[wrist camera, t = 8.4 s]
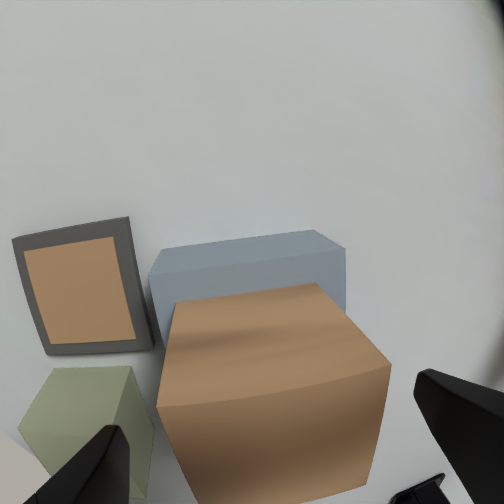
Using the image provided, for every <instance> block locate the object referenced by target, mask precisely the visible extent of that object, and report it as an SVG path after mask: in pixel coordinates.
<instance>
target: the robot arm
mask: <svg viewBox="0 0 504 504" xmlns="http://www.w3.org/2000/svg"><path fill="white" fill-rule="evenodd" d="M413 394H414V398H415V401H416V403H417V405H418V407H419V409H420V411H421V413H422V415H423V417H424V419H425V421H426V423H427V425H428V427H429V429H430V431H431V433H432V435H433V436H434V438H435V440H436V441H437V443H438V444H439V446H440V448H441V449H442V451H443V452H444V454H445V456H446V457H447V459H448V461H449V462H450V464H451V466H452V467H453V469H454V470H455V472H456V474H457V475H458V477H459V479H460V480H461V482H462V484H463V485H464V487H465V489H466V491H467V492H468V494H469V496H470V497H471V499H472V501H473V503H474V504H504V393H503V392H500V391H496V390H493V389H490V388H487V387H484V386H481V385H478V384H475V383H472V382H469V381H466V380H463V379H460V378H457V377H454V376H451V375H448V374H445V373H442V372H439V371H436V370H433V369H426V370H423V371H420V372H419V373H418V375H417V378H416V383H415V387H414V393H413ZM444 478H445V474H444V473H442V474H440V475H438V476H436V477H434V478H432V479H430V480H428V481H426V482H424V483H422V484H419V485H417V486H415V487H413V488H411V489H408V490H406V491H404V492H401V493H399V494H397V495H396V496H395V498H394V500H393V502H392V504H450V502H449V500H448V499H447V497H446V496H445V494H444V493H443V492H442V490H441V489H440V487H439V486H440V484H441V483H442V481H443V479H444ZM129 493H130V446H129V443H128V441H127V439H126V437H125V435H124V433H123V431H122V428H121V427H120V426H119V425H117V424H107V425H105V426H104V427H103V428H102V429H101V430H100V431H99V432H98V433H96V434H95V435H94V436H93V437H92V438H91V439H90V440H89V441H88V442H87V443H86V444H85V445H84V446H83V447H82V448H81V449H80V450H79V451H78V452H77V453H76V454H75V455H74V456H73V457H72V458H71V459H70V460H69V461H68V462H67V463H66V464H65V465H64V466H62V467H61V468H60V469H59V470H58V471H57V472H56V473H55V474H54V475H53V476H52V477H51V478H50V479H49V480H48V481H47V482H46V483H45V484H44V485H43V486H42V487H41V488H39V489H38V490H37V492H36V493H34V494H33V495H32V496H31V497H30V498H29V499H28V500H27V501H25V502H24V503H23V504H128V503H129Z"/></svg>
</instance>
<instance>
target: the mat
mask: <svg viewBox="0 0 504 504" xmlns="http://www.w3.org/2000/svg"><path fill="white" fill-rule="evenodd" d="M12 244H13V248H14V253H15V257H16V261H17V265H18V269H19V273H20V277H21V281H22V284H23V288H24V292H25V295H26V298H27V302H28V305H29V308H30V311H31V314H32V317H33V320H34V323H35V326H36V329H37V331H38V334H39V337H40V340H41V342H42V345H43V347H44V350H45V352H46V355H53V354H86V353H107V352H123V351H136V350H149V349H154V346H155V340H154V336H153V332H152V329H151V325H150V320H149V316H148V312H147V308H146V304H145V299H144V295H143V290H142V286H141V281H140V276H139V271H138V266H137V261H136V256H135V250H134V245H133V239H132V234H131V228H130V221H129V216H128V217H122V218H116V219H110V220H104V221H98V222H92V223H86V224H81V225H75V226H70V227H64V228H59V229H54V230H49V231H44V232H39V233H34V234H29V235H24V236H19V237H16V238H14V239H12Z"/></svg>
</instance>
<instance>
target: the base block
mask: <svg viewBox="0 0 504 504" xmlns="http://www.w3.org/2000/svg"><path fill="white" fill-rule="evenodd" d="M148 279H149V284H150V288H151V293H152V298H153V302H154V307H155V311H156V315H157V320H158V324H159V328H160V332H161V336H162V340H163V344H164V348H165V351H166V349H167V344H168V339H169V334H170V329H171V325H172V320H173V315H174V310H175V306H176V302H182V301H190V300H198V299H206V298H213V297H220V296H228V295H235V294H242V293H249V292H255V291H262V290H269V289H275V288H282V287H288V286H295V285H301V284H307V283H313V282H316V283H317V284H318V285H319V286H320V287H321V288H322V289H323V290H324V291H325V292H326V294H327V295H328V296H329V297H330V298H331V299H332V300H333V301H334V302H335V303H336V304H337V305H338V306H339V307H340V309H341V310H342V311H343V312H344V313H345V311H346V259H345V248H343V247H342V246H340V245H338V244H337V243H335V242H333V241H332V240H330V239H328V238H327V237H325V236H323V235H322V234H320V233H318V232H316V231H315V230H306V231H298V232H290V233H282V234H274V235H266V236H258V237H250V238H242V239H235V240H227V241H219V242H212V243H204V244H197V245H189V246H182V247H174V248H167V249H162V250H161V252H160V254H159V256H158V258H157V259H156V261H155V263H154V265H153V267H152V269H151V270H150V272H149V274H148Z"/></svg>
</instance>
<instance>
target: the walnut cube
mask: <svg viewBox="0 0 504 504" xmlns="http://www.w3.org/2000/svg"><path fill="white" fill-rule="evenodd" d="M391 366H392V364H391V363H390V362H389V361H388V360H387V358H386V357H385V356H384V355H383V354H382V353H381V352H380V351H379V350H378V349H377V347H376V346H375V345H374V344H373V343H372V342H371V341H370V340H369V339H368V338H367V337H366V335H365V334H364V333H363V332H362V331H361V330H360V329H359V328H358V327H357V326H356V325H355V324H354V322H353V321H352V320H351V319H350V318H349V317H348V316H347V315H346V314H345V313H344V312H343V311H342V310H341V309H340V307H339V306H338V305H337V304H336V303H335V302H334V301H333V300H332V299H331V298H330V297H329V296H328V295H327V294H326V292H325V291H324V290H323V289H322V288H321V287H320V286H319V285H318V284H317V283H316V282H313V283H307V284H301V285H295V286H288V287H282V288H275V289H269V290H262V291H255V292H249V293H242V294H235V295H228V296H220V297H213V298H206V299H198V300H190V301H182V302H176V306H175V310H174V315H173V320H172V325H171V329H170V334H169V339H168V344H167V349H166V354H165V360H164V365H163V370H162V376H161V381H160V387H159V393H158V399H157V405H156V408H157V411H158V414H159V416H160V419H161V421H162V424H163V426H164V429H165V432H166V434H167V436H168V439H169V441H170V444H171V446H172V448H173V451H174V453H175V455H176V458H177V460H178V462H179V464H180V467H181V469H182V471H183V473H184V475H185V478H186V480H187V482H188V484H189V486H190V488H191V490H192V492H193V494H194V496H195V498H196V500H197V502H198V504H299V503H304V502H308V501H312V500H316V499H320V498H324V497H328V496H331V495H335V494H338V493H342V492H345V491H348V490H351V489H355V488H358V487H361V486H364V485H366V482H367V479H368V475H369V472H370V468H371V464H372V461H373V457H374V453H375V449H376V445H377V440H378V436H379V432H380V427H381V422H382V417H383V412H384V407H385V402H386V397H387V391H388V385H389V379H390V372H391Z"/></svg>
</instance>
